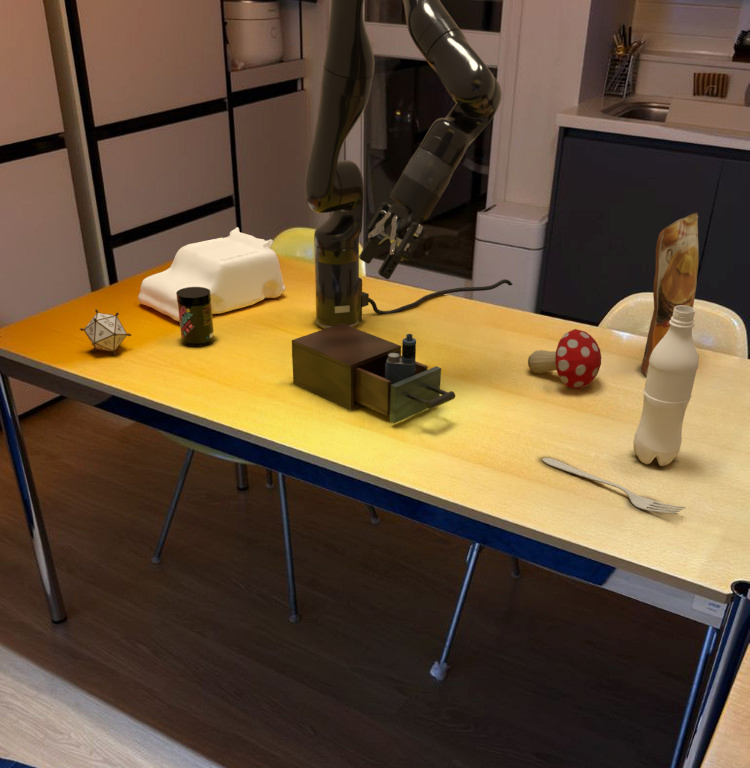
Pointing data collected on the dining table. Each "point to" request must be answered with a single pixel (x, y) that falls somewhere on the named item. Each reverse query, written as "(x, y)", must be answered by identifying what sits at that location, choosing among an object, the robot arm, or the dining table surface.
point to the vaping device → (402, 361)
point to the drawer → (398, 390)
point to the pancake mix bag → (672, 278)
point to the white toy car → (218, 274)
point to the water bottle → (667, 390)
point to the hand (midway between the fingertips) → (372, 268)
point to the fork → (635, 499)
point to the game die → (105, 332)
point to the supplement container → (195, 316)
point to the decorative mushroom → (570, 359)
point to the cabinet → (335, 361)
